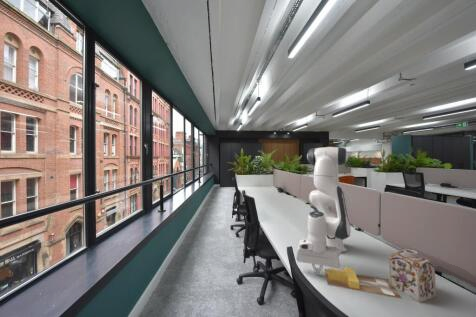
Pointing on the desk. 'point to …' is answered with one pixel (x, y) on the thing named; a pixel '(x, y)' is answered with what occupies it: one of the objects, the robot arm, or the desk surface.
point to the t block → (345, 277)
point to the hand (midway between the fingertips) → (317, 272)
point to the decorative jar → (412, 274)
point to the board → (368, 285)
